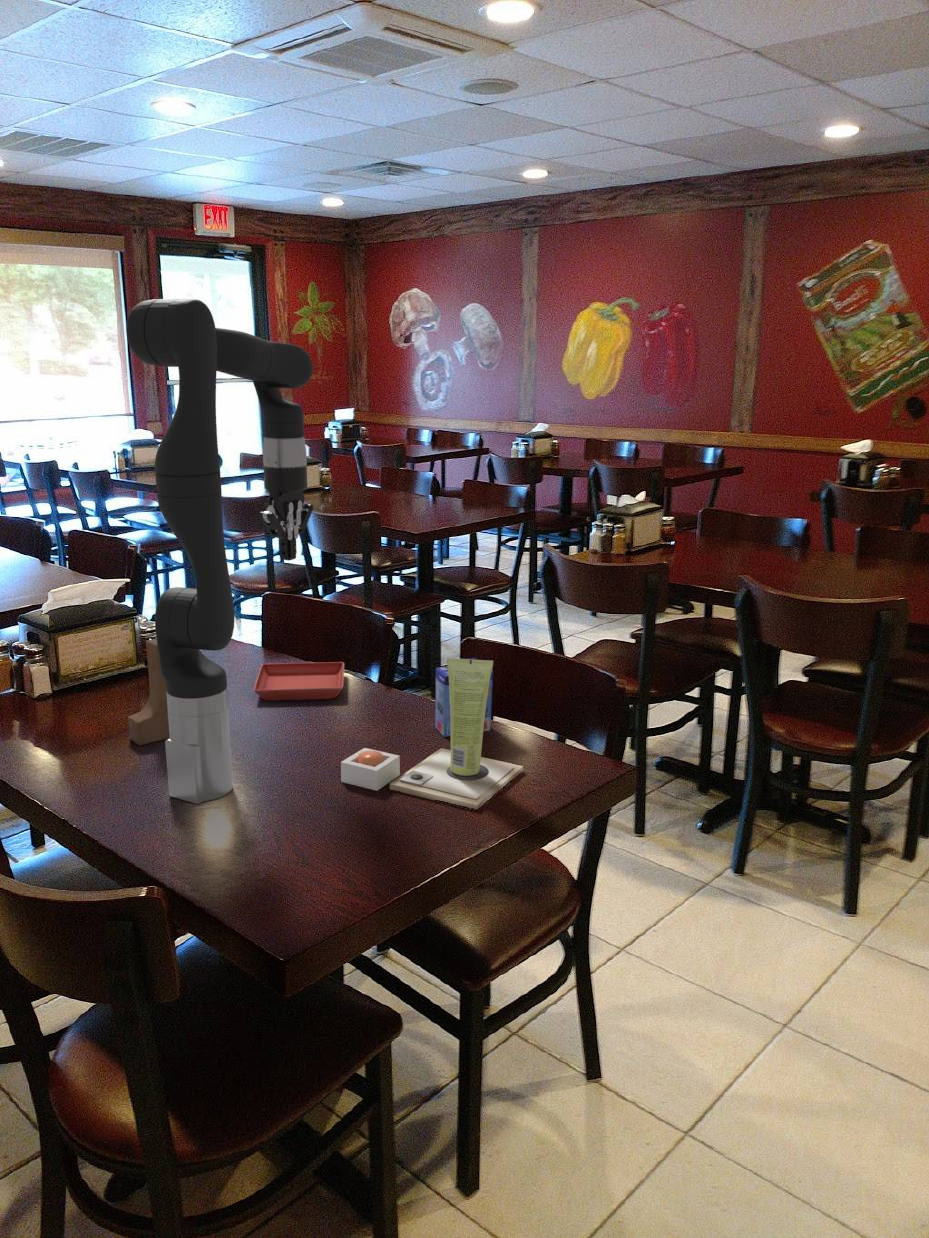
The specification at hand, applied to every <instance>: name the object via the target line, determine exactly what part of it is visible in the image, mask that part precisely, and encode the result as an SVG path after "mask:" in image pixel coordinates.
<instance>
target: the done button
mask: <svg viewBox="0 0 929 1238" xmlns="http://www.w3.org/2000/svg"><path fill="white" fill-rule="evenodd" d="M378 751H379V750H377V751H364V752H361V753H360V754H359V755H358V763H360V764H364V765H368V766H373V767H375V766H377V765H379V764H380V763H382V762H383V755H382V753H380V752H378Z"/></svg>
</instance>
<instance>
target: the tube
mask: <svg viewBox="0 0 929 1238" xmlns="http://www.w3.org/2000/svg"><path fill="white" fill-rule="evenodd" d="M470 659H471V658H456V657H455V658H453V657H447V658H446V666H447V667H448V675H449V689H450V715H451V736H450V750H451V761H450V769H451V771H452V772H453V773H455V774H458V775H462V776H471V775H475V774H477V773H479V771H480V762H481V757H482V749H483V740H484V739H483V738H484V737H483V736H484V732H483V729H484V719H485V710H486V703H487V695H488V688H489V682H490V676H491V671H493V667H494V660H488V659H487V660H484V659H482V660H481V659H476V660H470Z"/></svg>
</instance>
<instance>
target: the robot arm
mask: <svg viewBox="0 0 929 1238" xmlns="http://www.w3.org/2000/svg"><path fill="white" fill-rule="evenodd" d="M215 323H216V322H215V320H214V317H213V313H212V311H211V310H210V308H209V307H208V305H207V304H206V303H205V302H203V301H202V300H200V299H196V298H195V299H194V298H156V299H155V298H154V299H147V300H144V301H141V302H139V303H137V304H136V305H134V306H133V307H132V309H131V310H130V311H129V314H128V317H127V320H126V324H125V325H126V326H125V332H126V338H127V343H128V344H129V347H130V349H131V351H132V352H133V354H134V355H135V357H137V358H139V360H140V361H142V362H144V363H146V364H147V365H151V366H154V367H155V366H156V367H166V368H168V367H169V368H172V367H173V368H178V379H179V380H178V383H179V384H178V399H177V401H178V402H177V405H176V409H175V412H174V414H173V417H172V418H171V421H170V423H169V425H168V427H167V429H166V430H165V433H164V435H163V436H162V439H161V442H160V443H159V446H158V448H157V451H156V455H155V458H154V473H155V474H154V476H155V487H156V488H155V489H156V497H157V498H156V499H157V504H158V507H159V510H160V512H161V514H162V516H163V518H164V520H165V522H166V524H167V526H168V527H169V528H170V530H171V531H172V533H173V534H174V536H175V537H176V539H177V541H178V542H179V544H180V545H181V546H182V548H183V549H184V552H185V553H186V555H187V557H188V559H189V563H190V564H191V567H192V570H193V576H194V581H195V587H196V588H191V587H179V586H178V587H177V586H176V587H170V588H168V589H165V591H164V592H162V593H161V594H160V597H159V599H158V600H157V603H156V607H155V614H154V630H155V639H157V646H158V653H159V661H160V670H161V674H162V677H163V679H164V681H165V683H166V691H167V692H166V693H167V706H168V721H169V735H170V738H167V739H165V743H164V745H165V757H166V760H165V761H166V769H167V771H166V772H167V783H168V784H167V785H168V796H169V797H172V798H176V799H179V800H182V801H186V802H188V803H189V802H190V803H192V804H196V805H199V804H201V803H203V802H207V801H212V800H217V799H219V798H222V797H224V796H226V795H228V794H229V793H230V792H231V791H232V790H233V786H234V785H233V773H232V772H233V769H232V767H233V766H232V751H231V734H230V719H229V717H230V716H229V701H228V700H229V699H228V695H229V694H228V677H227V673H226V670H225V669H224V668H223V667H222V666H221V665H220V664H218V663H216V662H214V661H213V660H211V659H209V658H208V657H207V656H206V655H204V653H203V652H202V651H201V650H203V651H221V650H224V649H225V648H226V647H228V645H229V643H230V642H231V640H232V638H233V635H234V631H235V615H236V614H235V608H234V607H235V605H234V597H233V592H232V591H233V590H232V586H231V579H230V573H229V567H228V560H227V553H226V546H225V534H224V533H225V532H224V519H223V497H222V495H223V493H222V481H221V480H222V479H221V468H220V467H221V465H220V455H219V445H218V427H217V372H219V373H222V374H226V375H229V376H233V377H236V378H240V379H244V380H249V381H252V383H253V386H254V389H255V392H256V396H257V399H258V403H259V406H260V409H261V413H262V423H263V424H262V425H263V426H262V428H263V445H262V457H263V458H262V461H263V462H262V463H263V481H264V483H263V485H264V490H266V491H267V492H268V494H269V495H268V499H267V505H268V507H267V508H266V510H264V511H259V515H258V516H259V518H260V521H261V522H262V524H263V525H264V526H265V528H266V530H267V531H268V533H269V534H270V536H271V537H272V538H276V539H279V547H280V558H281V559H282V560H283V561H293V560H295V559H296V558H297V550H298V549H297V539H298V538H299V535H301V534H304V533H305V530H306V528H307V526H308V524H309V520H310V518H311V516H312V513H313V511H314V505H313V504H312V503H311V504H310V503H308V502H307V501H305V499H306V497H305V494H304V491H306V490H307V489H308V464H307V461H308V460H307V446H306V441H305V419H304V418H305V417H304V410H303V409H304V408H303V407H302V406H301V404H298V403H296V402H293V401H289V400H288V399H285V398H284V396H283V395H282V393H281V390H280V389H299V388H303V387H304V386H306V385H307V384H308V383H309V382H310V380H311V379H312V376H313V372H314V364H313V360H312V358H311V356H310V353H308V352H307V351H306V350H305V349H304V348H303V347H302V346H299V345H297V344H296V345H295V344H292V343H288V342H287V343H285V342H278V341H277V342H276V341H271V340H266V339H264V338H262V337H259V336H256V335H254V334H252V333H251V334H250V333H248V332H244V331H240V330H234V329H227V328H223V327H222V328H221V327H220V328H219V327H216V325H215Z"/></svg>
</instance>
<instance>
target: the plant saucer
mask: <svg viewBox="0 0 929 1238" xmlns="http://www.w3.org/2000/svg"><path fill="white" fill-rule="evenodd" d="M344 676H345V662H343V661H338V662H337V661H335V662H334V661H333V662H332V661H330V662H329V661H327V662H323V661H322V662H283V663H279V662H278V663H263V664H261V665H260V669H259V671H258V675H257V678H256V680H255V683H254V686H253V691H254V692H255V694H257V696H259V697H260V698H261V699H262V700H264V701H291V700H293V701H294V700H295V701H296V700H298V701H299V700H300V701H301V700H331V699H335V698H336V697H337V696H338V695H339V694H340V693H341V691H342V690H343V688H344V680H345V679H344Z"/></svg>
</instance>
